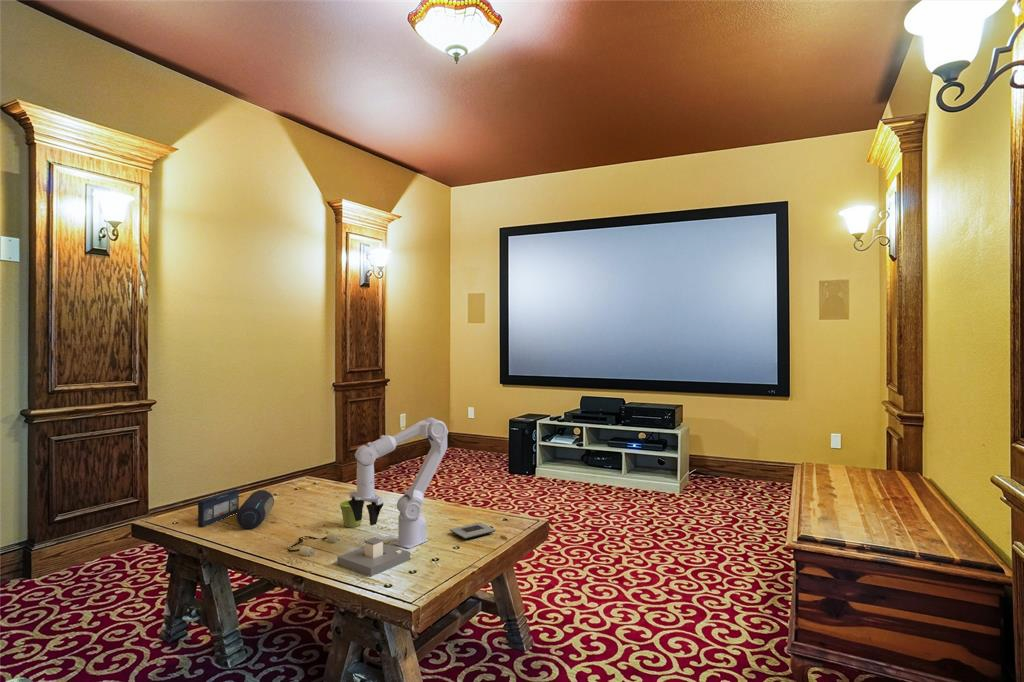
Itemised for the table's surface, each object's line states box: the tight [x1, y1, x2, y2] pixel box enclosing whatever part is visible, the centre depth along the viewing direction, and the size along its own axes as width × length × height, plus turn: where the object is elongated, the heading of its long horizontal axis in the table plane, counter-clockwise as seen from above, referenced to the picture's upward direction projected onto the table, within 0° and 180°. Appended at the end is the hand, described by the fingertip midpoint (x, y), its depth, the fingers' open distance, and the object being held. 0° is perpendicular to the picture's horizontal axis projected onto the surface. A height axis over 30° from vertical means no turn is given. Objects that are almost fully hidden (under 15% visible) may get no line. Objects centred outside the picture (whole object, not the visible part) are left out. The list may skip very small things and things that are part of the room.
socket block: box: [336, 543, 411, 577], centre depth 180 cm, size 16×16×3 cm
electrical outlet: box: [449, 521, 497, 540], centre depth 206 cm, size 13×10×2 cm
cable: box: [286, 532, 341, 557], centre depth 195 cm, size 16×16×4 cm
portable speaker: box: [236, 489, 275, 529], centre depth 223 cm, size 25×10×10 cm, turn 12°
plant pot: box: [338, 499, 366, 528], centre depth 216 cm, size 9×9×9 cm
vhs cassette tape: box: [197, 488, 240, 528], centre depth 224 cm, size 18×3×10 cm, turn 162°
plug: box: [364, 536, 384, 559], centre depth 180 cm, size 4×4×7 cm
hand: (365, 522), depth 190 cm, fingers open, 7 cm apart
